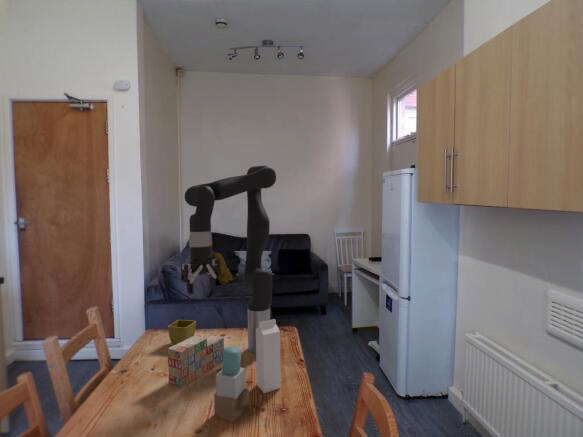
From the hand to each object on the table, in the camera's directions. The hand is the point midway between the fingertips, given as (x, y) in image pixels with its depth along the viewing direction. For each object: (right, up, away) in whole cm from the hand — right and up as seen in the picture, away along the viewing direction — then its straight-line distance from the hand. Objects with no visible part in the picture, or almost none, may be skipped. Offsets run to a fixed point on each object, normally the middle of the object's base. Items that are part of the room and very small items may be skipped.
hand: (201, 291), depth 117 cm
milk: (+23, -30, -5) cm, 38 cm away
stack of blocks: (-3, -30, +6) cm, 31 cm away
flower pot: (-16, -29, +30) cm, 44 cm away
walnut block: (+14, -31, -18) cm, 38 cm away
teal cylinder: (+13, -19, -19) cm, 30 cm away
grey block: (+13, -25, -18) cm, 34 cm away
